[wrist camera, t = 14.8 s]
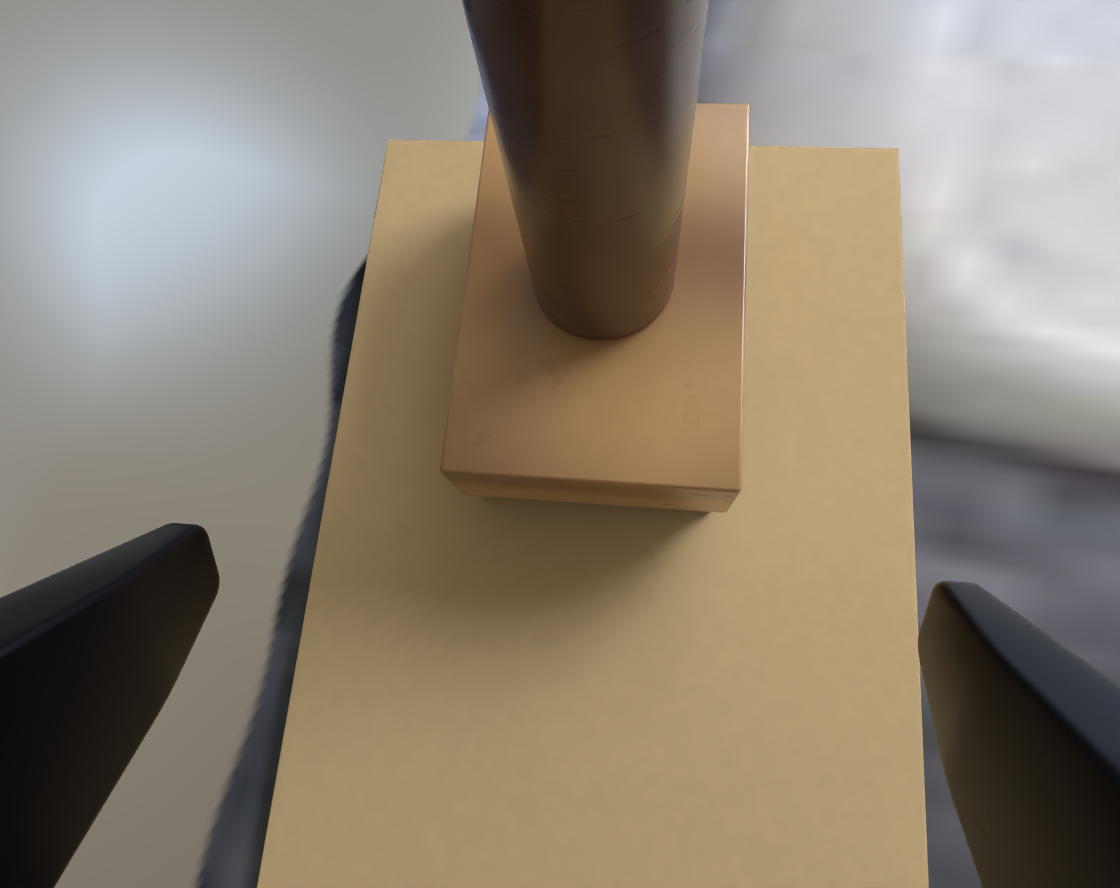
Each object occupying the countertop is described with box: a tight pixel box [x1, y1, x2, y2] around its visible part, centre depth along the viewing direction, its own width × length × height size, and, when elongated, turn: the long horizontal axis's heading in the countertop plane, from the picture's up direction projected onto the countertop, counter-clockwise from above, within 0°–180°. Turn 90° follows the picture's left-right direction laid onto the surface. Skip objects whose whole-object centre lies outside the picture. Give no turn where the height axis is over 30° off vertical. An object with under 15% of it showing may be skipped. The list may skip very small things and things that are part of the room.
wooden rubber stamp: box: [440, 0, 750, 513], centre depth 13 cm, size 9×6×12 cm, turn 175°
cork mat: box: [257, 140, 929, 888], centre depth 18 cm, size 22×14×1 cm, turn 175°
